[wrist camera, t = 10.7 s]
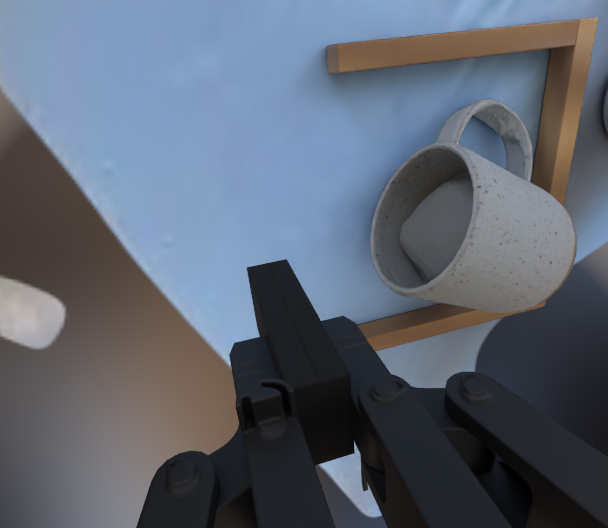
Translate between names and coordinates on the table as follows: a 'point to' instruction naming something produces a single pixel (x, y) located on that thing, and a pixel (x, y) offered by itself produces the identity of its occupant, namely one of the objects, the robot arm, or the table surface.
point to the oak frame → (551, 139)
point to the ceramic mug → (472, 222)
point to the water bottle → (605, 110)
